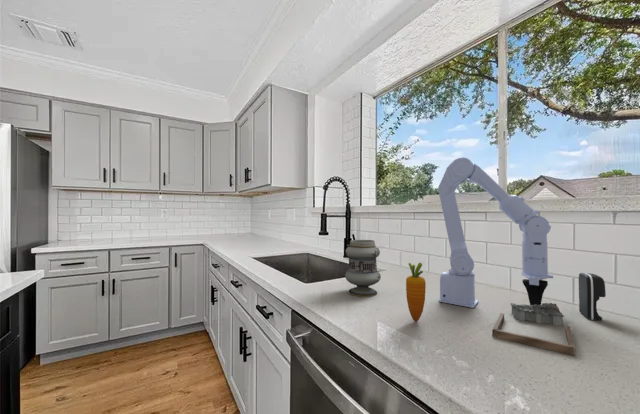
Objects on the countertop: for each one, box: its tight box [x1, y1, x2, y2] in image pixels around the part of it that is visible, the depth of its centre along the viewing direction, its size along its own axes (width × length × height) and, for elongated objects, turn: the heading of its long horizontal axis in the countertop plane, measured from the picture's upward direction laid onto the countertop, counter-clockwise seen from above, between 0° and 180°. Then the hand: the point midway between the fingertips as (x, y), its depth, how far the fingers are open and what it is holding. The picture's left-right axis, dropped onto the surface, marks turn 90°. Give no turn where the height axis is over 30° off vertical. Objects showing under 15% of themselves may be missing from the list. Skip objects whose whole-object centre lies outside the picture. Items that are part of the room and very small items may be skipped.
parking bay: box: [491, 312, 576, 357], centre depth 64 cm, size 14×14×2 cm
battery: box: [578, 272, 607, 321], centre depth 76 cm, size 7×4×11 cm, turn 153°
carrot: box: [405, 262, 427, 323], centre depth 71 cm, size 5×5×15 cm
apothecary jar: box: [344, 239, 381, 298], centre depth 98 cm, size 12×12×18 cm
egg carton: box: [510, 302, 565, 326], centre depth 74 cm, size 11×8×4 cm
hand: (535, 306), depth 80 cm, fingers closed
